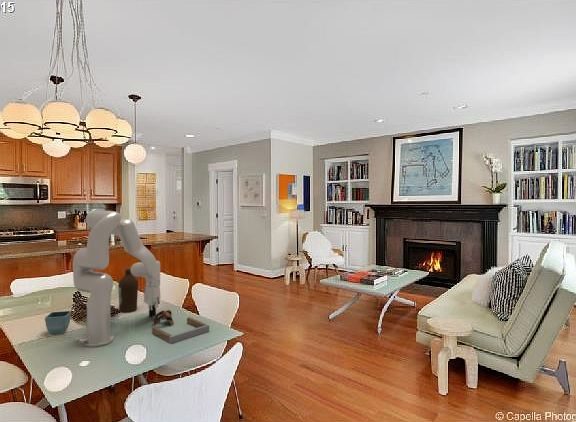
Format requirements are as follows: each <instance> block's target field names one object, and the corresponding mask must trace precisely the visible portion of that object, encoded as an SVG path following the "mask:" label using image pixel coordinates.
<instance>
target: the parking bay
mask: <svg viewBox="0 0 576 422" xmlns="http://www.w3.org/2000/svg"><path fill="white" fill-rule="evenodd" d="M187 324H188V325H189V326H192V327H194V328H192V329H189V330H186V331H182V332H179V333H176V334H173V335H172V334H170V333H168V332H166V331H165V330H162V329H160V328H159V327H157V326H152V327H151V334H153V335H154V336H156V337H158V338H159V339H161V340H164V341H165V342H166V343H169V344H175V343H177V342H182V341H183V340H187V339H189V338H193V337H196V336H200V335H203V334H206V333H208V332H210V325H209V324H207V323H204V322H201V321H200V320H197V319H195V318H193V317H190V316H189V317H187V318H186V325H187Z"/></svg>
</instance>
